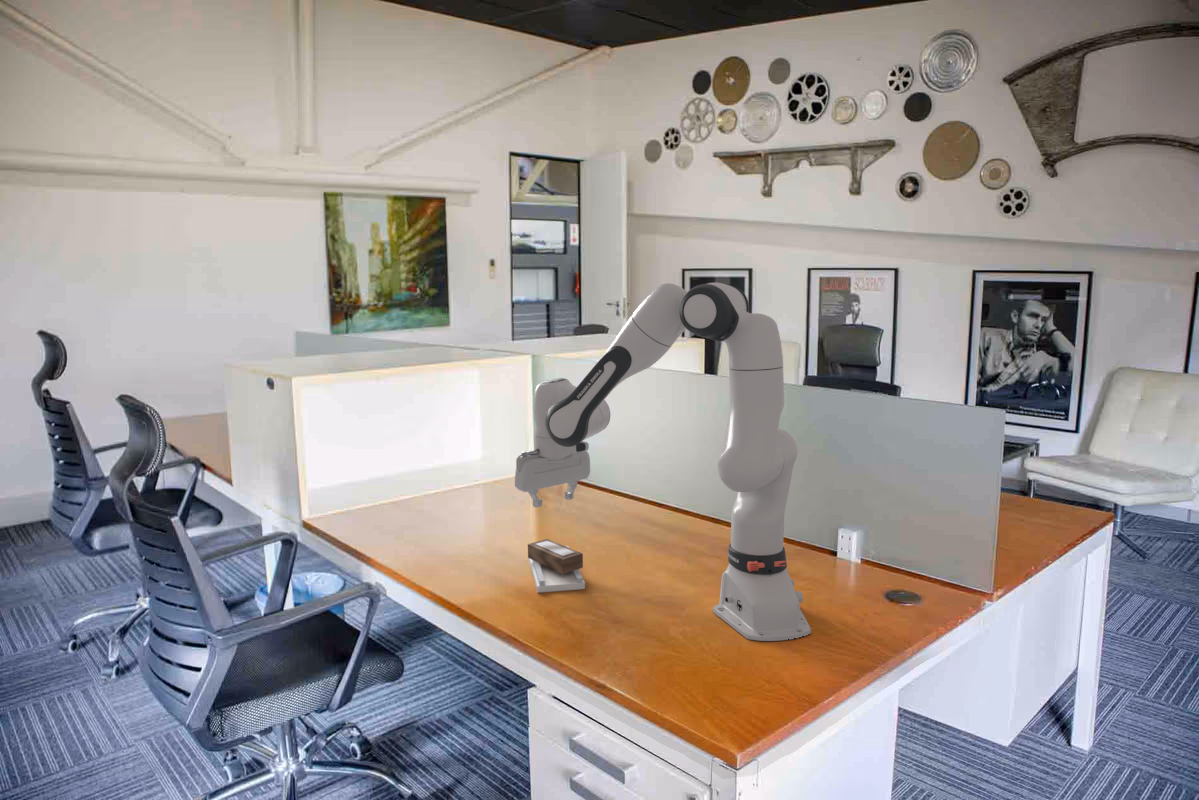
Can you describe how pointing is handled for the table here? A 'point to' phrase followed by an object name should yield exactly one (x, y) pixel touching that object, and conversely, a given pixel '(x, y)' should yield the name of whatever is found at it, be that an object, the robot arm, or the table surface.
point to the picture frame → (555, 556)
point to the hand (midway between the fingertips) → (553, 502)
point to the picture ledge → (555, 578)
